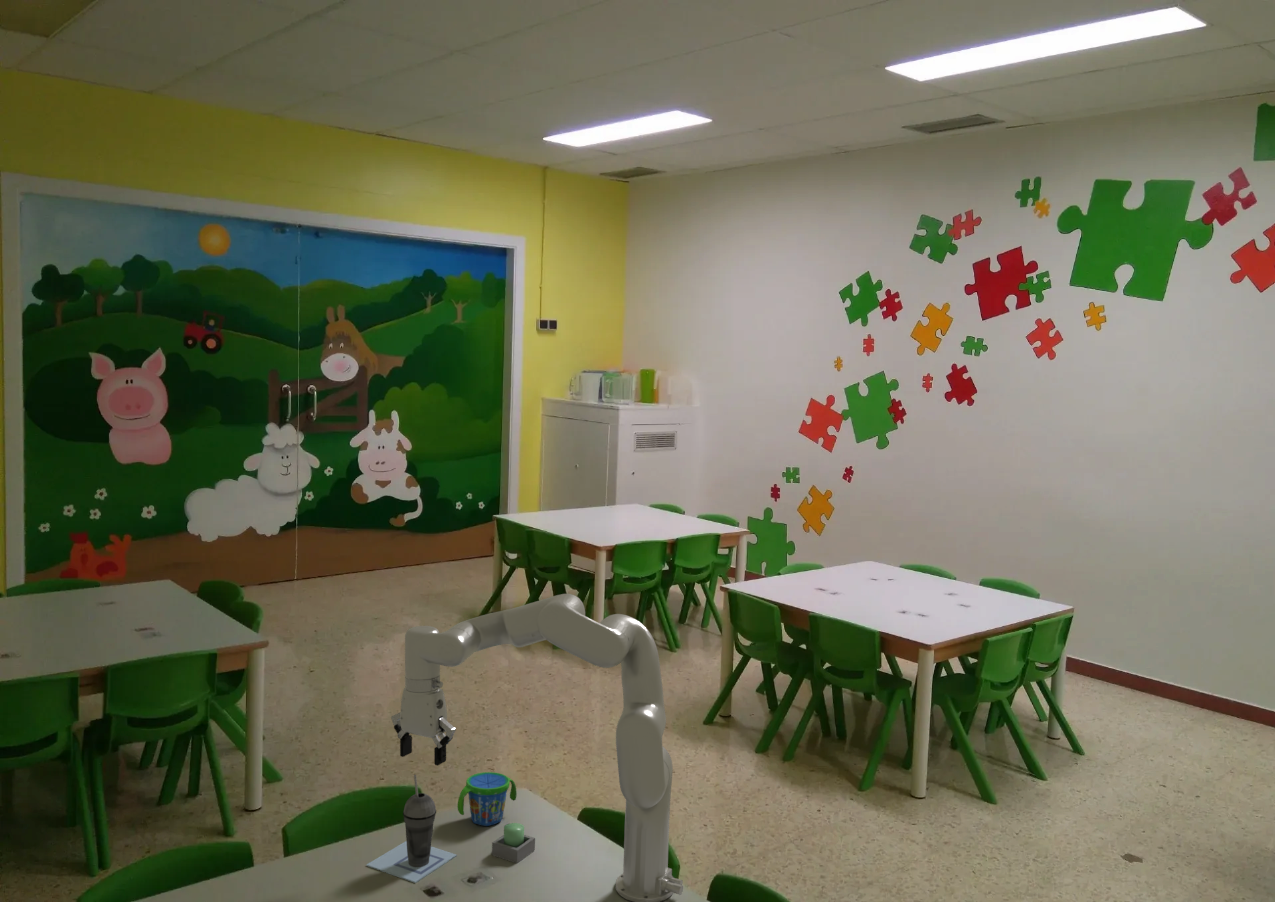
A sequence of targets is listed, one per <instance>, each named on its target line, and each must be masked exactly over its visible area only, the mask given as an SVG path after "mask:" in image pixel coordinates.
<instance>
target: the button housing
mask: <svg viewBox="0 0 1275 902" xmlns="http://www.w3.org/2000/svg"><path fill="white" fill-rule="evenodd" d="M535 847H536V838H535V837H533V836H530V835H527V834H524V843H523V844H522V845H520V846H519V847H517V848H515V847H512V846H508V845H505V844H504V834H503V835H501V836H500V837H498V838H497V839H496V840H494V841H492V842H491V856H493V857H495V858H498V859H502V860H504V861H505V860H506V861H510V862H513V863H515V864H518V863H520V862H522V861H523V860H524V859H525V858H527V857H528V856H529V855H530V853H531V852H532V853H533V852H535V851H536V848H535ZM534 850H535V851H534ZM532 853H531V854H532ZM526 856H527V857H526Z"/></svg>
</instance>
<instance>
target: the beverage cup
mask: <svg viewBox="0 0 1275 902" xmlns="http://www.w3.org/2000/svg"><path fill="white" fill-rule="evenodd" d="M413 778H414V789H415V791H414V792H415V794H413V795H411V796H410V797H409V798H408V799H407V800H406V802H405V805H404V807H403V812H402V815H403V822H404V825H405V836H406V837H405V839H406V840H405V841H407V855H408V863H409V865H410V866H412V867H423V866H425V865H427V864H428V863H429V857H430V851H431V846H432V840H433V831H434V830H433V829H434V822H435V819H436V814H437V809H436V808H437V807H436V803H435V801H434V800H433V798H432V797H431V796H430V795H429V794H427V793H423V792H419V789H418V779H417V774H413Z"/></svg>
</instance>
